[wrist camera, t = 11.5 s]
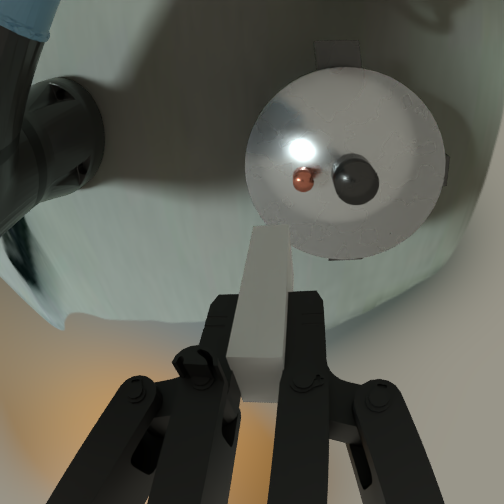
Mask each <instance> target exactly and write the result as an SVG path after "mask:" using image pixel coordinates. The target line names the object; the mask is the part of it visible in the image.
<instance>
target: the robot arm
mask: <svg viewBox="0 0 504 504" xmlns="http://www.w3.org/2000/svg"><path fill="white" fill-rule="evenodd" d="M59 3H60V0H0V237H1V236H2V235H4V234H5V233H6V232H7V231H8V230H9V229H10V228H11V227H12V226H13V225H14V224H15V223H16V222H18V221H19V220H20V219H21V218H22V217H23V216H24V215H25V214H27V213H28V212H29V211H30V210H31V209H32V208H33V207H35V206H36V205H37V204H38V203H40V202H44V201H47V200H51V199H54V198H58V197H61V196H65V195H68V194H71V193H73V192H75V191H76V190H78V189H79V188H80V187H82V186H83V185H84V184H85V183H87V182H88V181H89V180H90V179H91V178H92V177H93V176H94V174H95V173H96V171H97V169H98V167H99V165H100V163H101V160H102V156H103V151H104V128H103V123H102V119H101V115H100V113H99V110H98V108H97V106H96V104H95V102H94V100H93V99H92V97H91V96H90V94H89V93H88V92H87V91H86V90H85V89H84V88H83V87H82V86H81V85H79V84H78V83H76V82H74V81H72V80H69V79H66V78H52V79H48V80H45V81H41V82H38V83H36V84H34V85H32V86H31V84H32V80H33V77H34V73H35V70H36V67H37V64H38V60H39V57H40V54H41V52H42V49H43V46H44V43H45V42H47V41H48V39H49V37H50V32H49V30H50V27H51V24H52V21H53V18H54V16H55V13H56V10H57V8H58V5H59ZM172 364H173V365H174V367H175V369H176V370H177V372H178V374H179V375H180V377H177V378H174V379H170V380H166V381H160V382H155V383H154V382H153V381H152V380H151V379H150V378H148V377H146V376H141V375H139V376H133V377H131V378H129V379H127V380H126V381H125V382H124V383H123V384H122V385H121V386H120V388H119V389H118V391H117V392H116V394H115V396H114V397H113V398H112V400H111V401H110V403H109V404H108V406H107V407H106V409H105V410H104V412H103V413H102V415H101V416H100V418H99V420H98V421H97V423H96V424H95V426H94V427H93V429H92V430H91V432H90V433H89V435H88V437H87V438H86V440H85V441H84V443H83V444H82V446H81V448H80V449H79V451H78V452H77V454H76V456H75V457H74V459H73V460H72V462H71V464H70V465H69V467H68V468H67V470H66V472H65V473H64V475H63V477H62V478H61V480H60V481H59V483H58V485H57V486H56V488H55V490H54V491H53V493H52V495H51V496H50V498H49V500H48V501H47V503H46V504H145V502H146V500H147V498H148V496H149V499H148V503H147V504H228V497H229V491H230V485H231V479H232V473H233V466H234V460H235V454H236V447H237V441H238V433H239V428H240V421H241V412H240V409H239V404H240V397H242V400H243V402H267V403H268V402H269V403H278V407H277V417H276V428H275V438H274V449H273V457H272V467H271V476H270V485H269V493H268V501H267V504H327V493H328V492H327V491H328V463H329V439H332V440H336V441H340V442H344V443H346V446H347V450H348V453H349V457H350V460H351V463H352V467H353V470H354V474H355V477H356V480H357V484H358V488H359V491H360V495H361V498H362V502H363V504H444V501H443V498H442V495H441V492H440V489H439V486H438V483H437V481H436V478H435V475H434V473H433V470H432V467H431V464H430V462H429V459H428V457H427V454H426V452H425V449H424V446H423V444H422V441H421V439H420V437H419V434H418V432H417V429H416V427H415V424H414V422H413V420H412V417H411V415H410V412H409V410H408V408H407V406H406V403H405V401H404V399H403V397H402V394H401V392H400V391H399V389H398V388H397V387H396V385H394V384H393V383H391V382H389V381H387V380H382V379H376V380H370V381H368V382H366V383H364V384H362V385H359V384H355V383H350V382H346V381H343V380H341V379H339V378H338V377H336V376H335V375H334V374H333V373H332V372H331V371H330V369H329V367H328V366H327V360H326V340H325V322H324V307H323V300H322V298H321V297H320V295H319V294H318V292H317V291H297V292H293V263H292V252H291V241H290V231H289V224H281V225H265V226H253V231H252V235H251V240H250V245H249V250H248V254H247V259H246V264H245V269H244V273H243V278H242V283H241V288H240V292H239V294H227V295H218V296H217V298H216V299H215V300H214V301H213V302H212V304H211V305H210V308H209V312H208V315H207V319H206V322H205V328H204V329H203V333H202V336H201V340H200V343H199V345H196V346H190V347H187V348H185V349H183V350H182V351H180V352H179V353H178V354H177V355H176V356H175V358H174V360H173V361H172Z"/></svg>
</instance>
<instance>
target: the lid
mask: <svg viewBox="0 0 504 504" xmlns="http://www.w3.org/2000/svg"><path fill="white" fill-rule="evenodd" d="M449 159H450V157H449V156H448V155H447V154H446V153H445V149H444V144H443V140H442V135H441V133H440V130H439V128H438V125H437V123H436V121H435V119H434V117H433V115H432V114H431V112H430V111H429V109H428V108H427V107H426V105H425V104H424V103H423V101H422V100H421V99H420V98H419V97H418V96H417V95H416V94H415V93H414V92H413V91H411V90H410V89H409V88H407V87H406V86H405V85H403V84H402V83H400V82H399V81H397V80H395V79H393V78H391V77H389V76H387V75H384V74H381V73H379V72H376V71H372V70H367V69H363V68H356V67H334V68H326V69H322V70H318V71H314V72H311V73H309V74H306V75H304V76H301V77H299V78H298V79H296V80H294V81H292V82H291V83H289V84H288V85H286V86H285V87H284V88H282V89H281V90H280V91H279V92H277V93H276V95H275V96H274V97H273V98H272V99H271V100H270V101H269V102H268V103H267V104H266V106H265V107H264V109H263V110H262V111H261V113H260V115H259V117H258V118H257V120H256V122H255V124H254V126H253V128H252V131H251V134H250V137H249V140H248V144H247V149H246V155H245V174H246V182H247V186H248V191H249V194H250V197H251V199H252V202H253V204H254V206H255V208H256V210H257V211H258V213H259V215H260V216H261V218H262V219H263V220H264V222H265V223H266V225H281V224H289V231H290V241H291V245H292V246H293V247H295V248H297V249H299V250H301V251H303V252H306V253H309V254H312V255H315V256H319V257H324V258H329V259H358V258H364V257H369V256H373V255H376V254H379V253H382V252H384V251H386V250H389V249H391V248H393V247H395V246H396V245H398V244H400V243H401V242H403V241H404V240H406V239H407V238H408V237H409V236H411V235H412V234H413V233H414V232H415V231H416V230H417V229H418V228H419V227H420V226H421V225H422V224H423V223H424V221H425V220H426V219H427V218H428V216H429V215H430V213H431V211H432V210H433V208H434V207H435V204H436V202H437V200H438V198H439V196H440V192H441V189H442V186H447V178H448V169H449Z"/></svg>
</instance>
